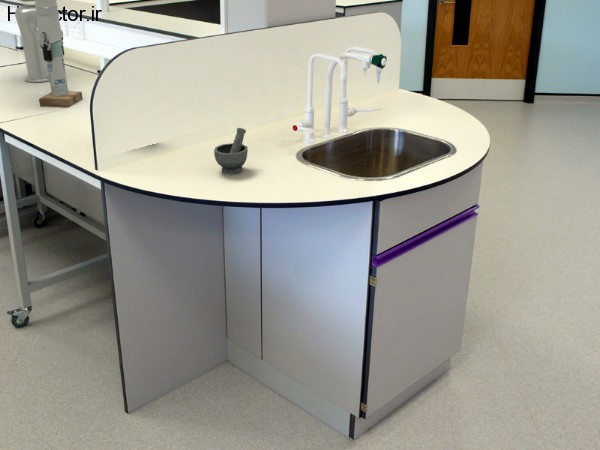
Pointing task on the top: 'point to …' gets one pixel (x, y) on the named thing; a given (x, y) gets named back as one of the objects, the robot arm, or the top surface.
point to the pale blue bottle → (57, 71)
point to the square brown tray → (60, 100)
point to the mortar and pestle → (232, 154)
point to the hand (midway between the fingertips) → (54, 57)
